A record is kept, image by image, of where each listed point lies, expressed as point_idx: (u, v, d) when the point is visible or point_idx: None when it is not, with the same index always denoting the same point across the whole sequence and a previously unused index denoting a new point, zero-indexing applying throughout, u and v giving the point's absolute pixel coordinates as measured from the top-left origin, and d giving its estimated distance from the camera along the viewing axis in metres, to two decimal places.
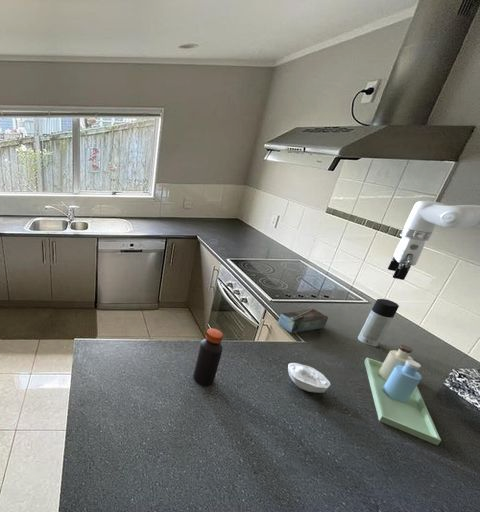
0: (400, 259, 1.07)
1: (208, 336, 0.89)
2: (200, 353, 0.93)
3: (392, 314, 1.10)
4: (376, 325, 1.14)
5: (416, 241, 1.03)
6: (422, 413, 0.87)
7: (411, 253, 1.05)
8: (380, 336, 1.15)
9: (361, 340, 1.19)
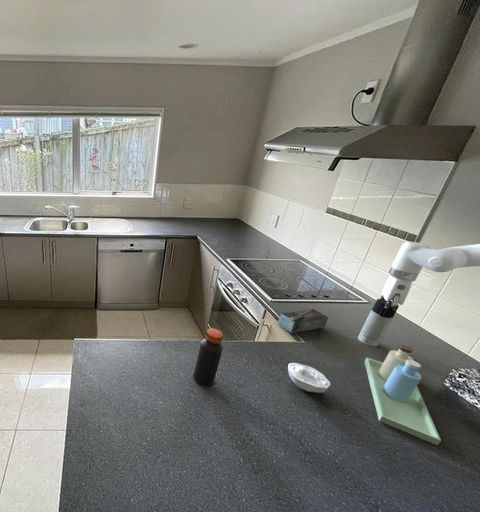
0: (388, 298, 1.08)
1: (208, 336, 0.89)
2: (200, 353, 0.93)
3: (392, 314, 1.11)
4: (376, 325, 1.14)
5: (403, 282, 1.04)
6: (422, 413, 0.87)
7: (398, 293, 1.06)
8: (380, 336, 1.15)
9: (361, 340, 1.19)
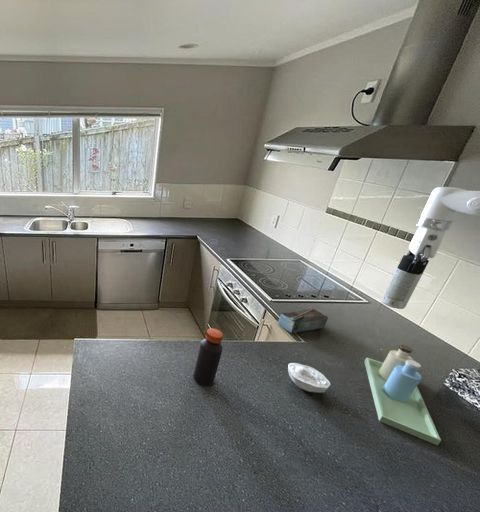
0: (417, 251, 0.98)
1: (208, 336, 0.89)
2: (200, 353, 0.93)
3: None
4: (403, 284, 1.03)
5: (435, 231, 0.94)
6: (422, 413, 0.87)
7: (429, 244, 0.95)
8: (407, 296, 1.04)
9: (385, 302, 1.09)
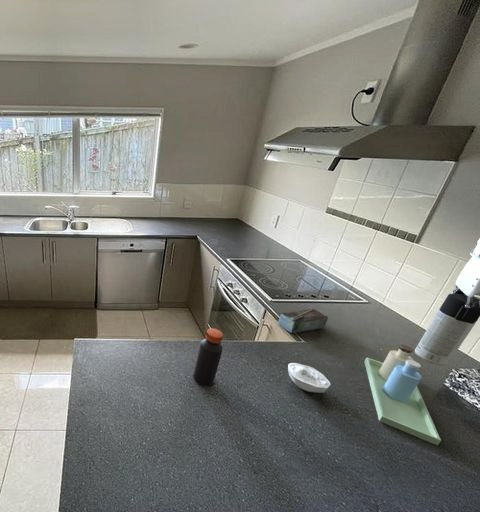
0: (472, 292, 0.69)
1: (208, 336, 0.89)
2: (200, 353, 0.93)
3: None
4: (449, 334, 0.75)
5: None
6: (422, 413, 0.87)
7: None
8: (454, 350, 0.76)
9: (421, 355, 0.81)
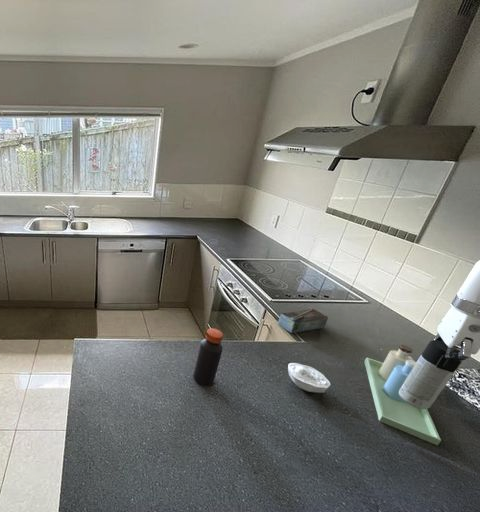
0: (452, 343, 0.71)
1: (208, 336, 0.89)
2: (200, 353, 0.93)
3: None
4: (430, 380, 0.77)
5: (479, 320, 0.68)
6: (422, 413, 0.87)
7: (470, 337, 0.69)
8: (435, 395, 0.78)
9: (404, 398, 0.83)
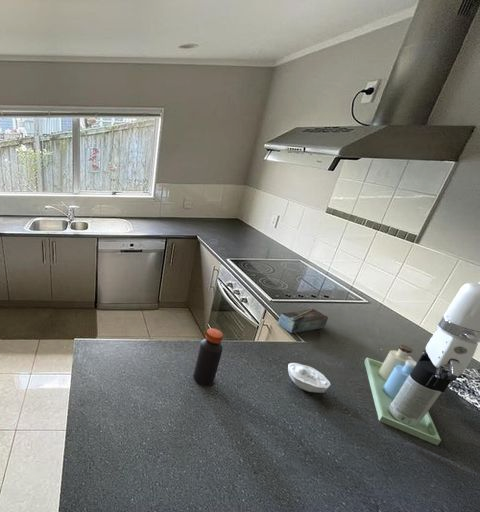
0: (439, 364, 0.74)
1: (208, 336, 0.89)
2: (200, 353, 0.93)
3: None
4: (418, 399, 0.80)
5: (464, 343, 0.70)
6: None
7: (456, 358, 0.72)
8: (422, 414, 0.81)
9: (394, 415, 0.85)
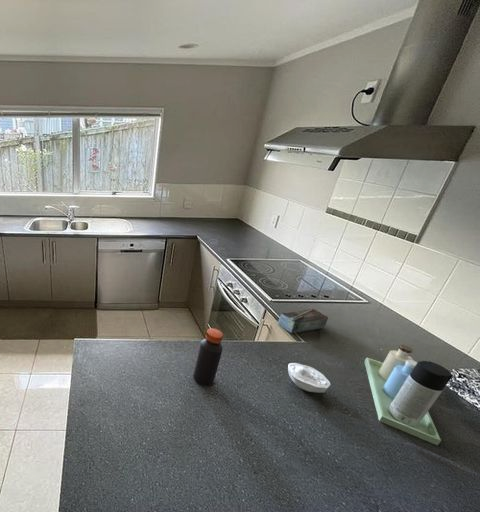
0: None
1: (208, 336, 0.89)
2: (200, 353, 0.93)
3: (442, 386, 0.77)
4: (418, 399, 0.80)
5: None
6: None
7: None
8: (422, 414, 0.81)
9: (394, 415, 0.85)
